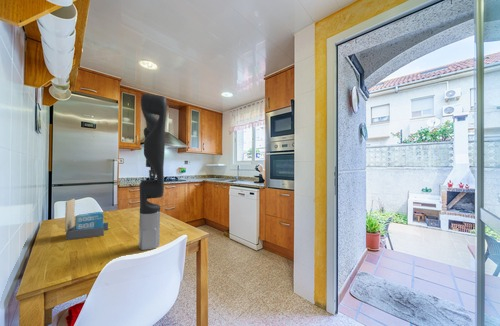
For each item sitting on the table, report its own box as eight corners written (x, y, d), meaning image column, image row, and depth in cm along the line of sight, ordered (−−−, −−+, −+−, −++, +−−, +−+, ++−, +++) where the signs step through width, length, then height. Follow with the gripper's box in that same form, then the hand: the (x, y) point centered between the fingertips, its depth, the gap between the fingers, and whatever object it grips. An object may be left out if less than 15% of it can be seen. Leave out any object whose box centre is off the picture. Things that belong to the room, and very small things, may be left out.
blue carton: (75, 238, 102) (76, 216, 102) (75, 236, 105) (75, 214, 105) (103, 232, 111) (103, 212, 111) (101, 230, 114) (102, 211, 114)
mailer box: (103, 235, 106) (104, 199, 107) (64, 240, 99) (65, 201, 99) (108, 229, 115) (108, 196, 116) (72, 233, 108) (73, 198, 108)
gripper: (146, 159, 120) (146, 186, 120) (145, 159, 108) (144, 188, 108) (159, 159, 123) (159, 185, 123) (159, 159, 111) (158, 188, 111)
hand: (152, 187), depth 116 cm, fingers closed
